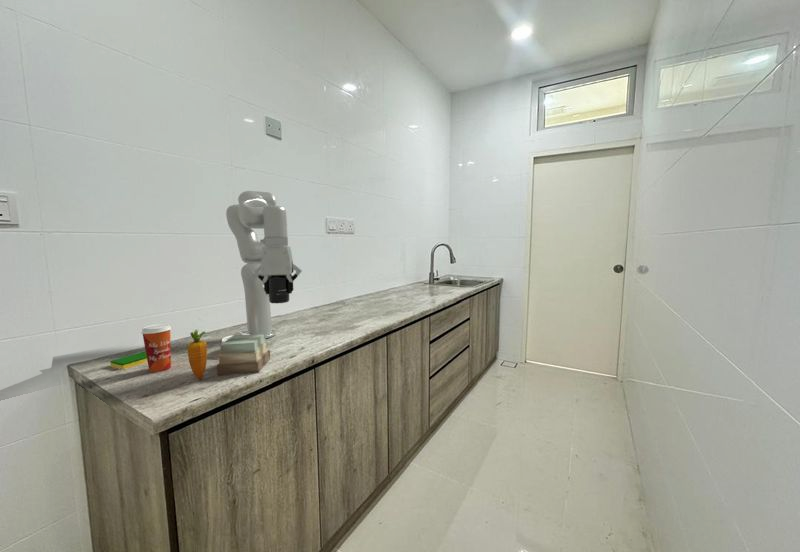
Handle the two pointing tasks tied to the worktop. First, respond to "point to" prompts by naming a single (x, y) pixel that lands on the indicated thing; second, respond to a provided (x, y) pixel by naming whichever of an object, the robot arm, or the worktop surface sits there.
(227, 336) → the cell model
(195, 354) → the carrot
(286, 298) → the supplement bottle
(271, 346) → the worktop surface
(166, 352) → the paper cup
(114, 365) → the dish sponge
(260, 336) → the layered stepped block
